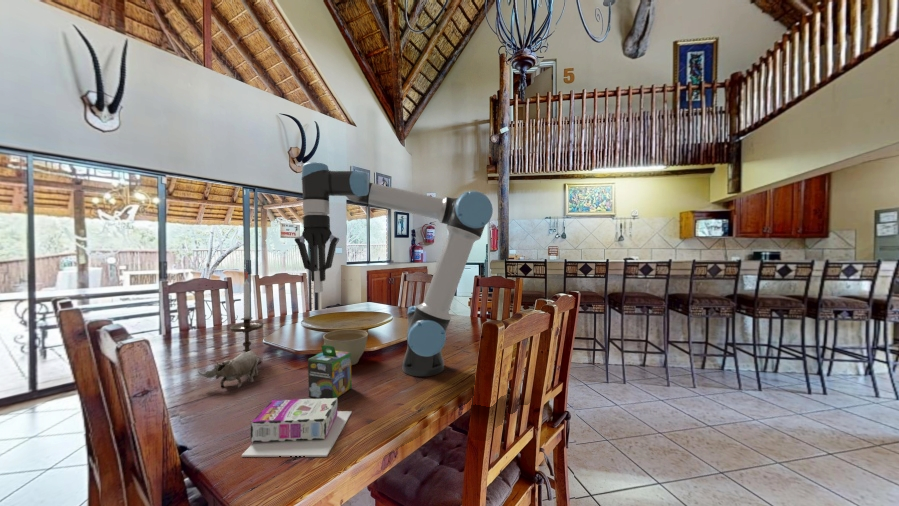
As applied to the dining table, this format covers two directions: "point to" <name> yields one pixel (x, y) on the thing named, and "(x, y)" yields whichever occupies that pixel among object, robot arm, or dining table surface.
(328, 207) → the robot arm
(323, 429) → the candy bar box
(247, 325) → the candlestick
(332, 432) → the mat
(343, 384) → the chalk box
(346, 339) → the planter bowl
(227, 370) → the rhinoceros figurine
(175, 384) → the dining table surface
